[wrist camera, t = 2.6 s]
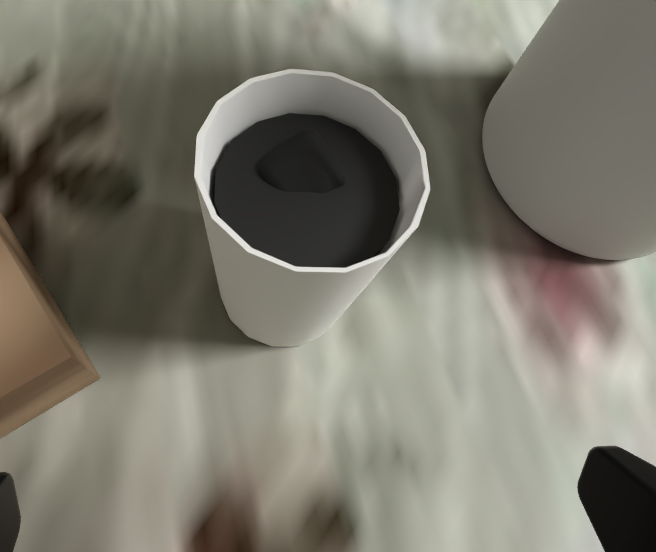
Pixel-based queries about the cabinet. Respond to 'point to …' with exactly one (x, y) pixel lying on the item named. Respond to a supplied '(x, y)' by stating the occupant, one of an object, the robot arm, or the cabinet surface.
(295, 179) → the white cup
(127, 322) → the cabinet surface
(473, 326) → the cabinet surface
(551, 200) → the cylinder vase
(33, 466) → the cabinet surface
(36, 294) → the walnut block
